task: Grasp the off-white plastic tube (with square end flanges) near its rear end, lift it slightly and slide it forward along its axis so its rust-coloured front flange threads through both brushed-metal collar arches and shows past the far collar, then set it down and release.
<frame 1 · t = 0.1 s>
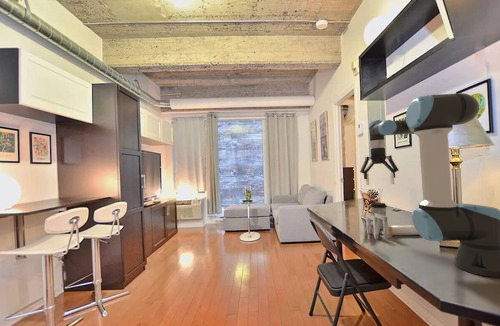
hand: (379, 184, 138), 28 cm above the table, fingers open, 13 cm apart
coffee cup: (379, 227, 148), on the table
collar far: (372, 235, 132), on the table
collar near: (381, 235, 132), on the table
tube: (406, 235, 131), on the table
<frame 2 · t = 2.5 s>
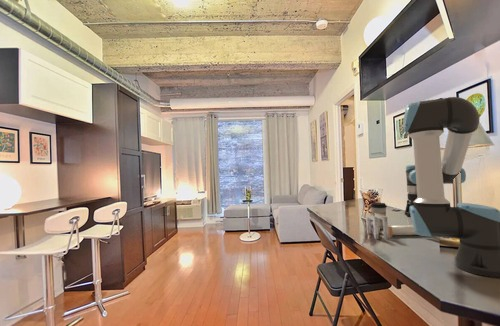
hand: (418, 231, 130), 2 cm above the table, fingers open, 13 cm apart
nothing on the table moved.
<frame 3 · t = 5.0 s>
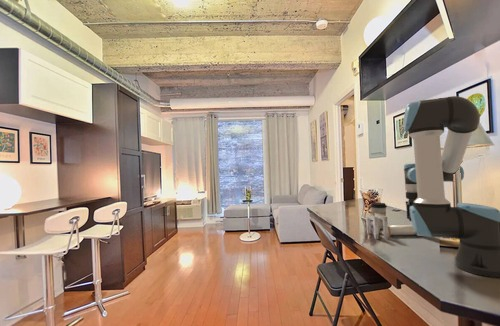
hand: (416, 233, 130), 0 cm above the table, fingers closed on tube, 5 cm apart
tube: (404, 234, 131), on the table, touching gripper
everything else where it was.
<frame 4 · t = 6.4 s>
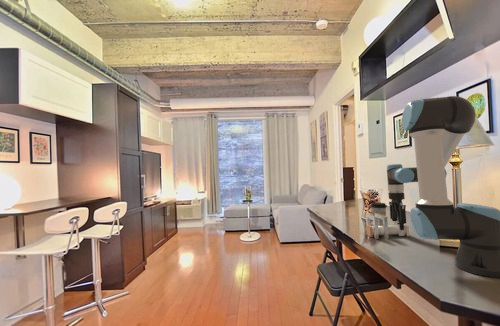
hand: (398, 234, 131), 1 cm above the table, fingers closed on tube, 5 cm apart
tube: (387, 235, 132), on the table, touching gripper
everything else where it was.
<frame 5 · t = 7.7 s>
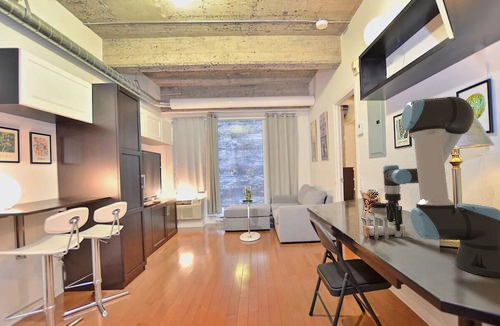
hand: (395, 235, 131), 0 cm above the table, fingers closed on tube, 5 cm apart
tube: (383, 235, 132), on the table, touching gripper
everything else where it was.
when the fingers open (0 cm above the table, at t = 8.3 s): tube stays where it is, on the table.
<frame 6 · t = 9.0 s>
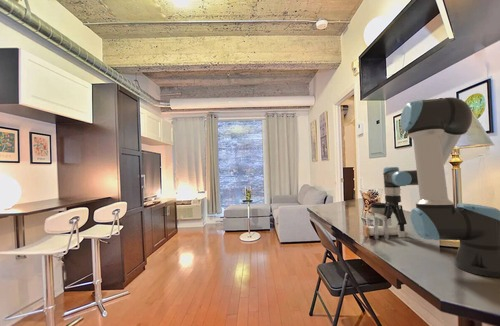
hand: (395, 233, 131), 1 cm above the table, fingers open, 13 cm apart
tube: (383, 235, 132), on the table
everything else where it was.
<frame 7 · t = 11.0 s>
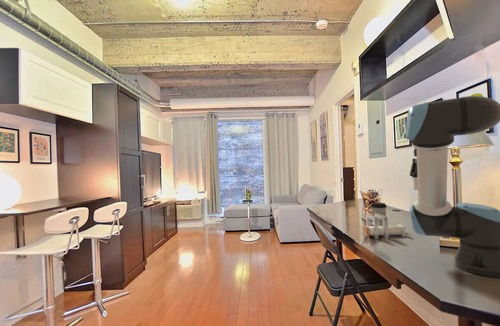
hand: (425, 190, 118), 25 cm above the table, fingers open, 13 cm apart
nothing on the table moved.
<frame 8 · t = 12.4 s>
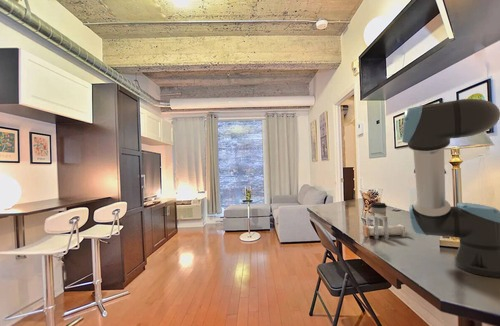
hand: (429, 188, 117), 27 cm above the table, fingers open, 13 cm apart
nothing on the table moved.
at the end: tube 0.8 cm from the target spot, on the table; the gripper is holding nothing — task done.
